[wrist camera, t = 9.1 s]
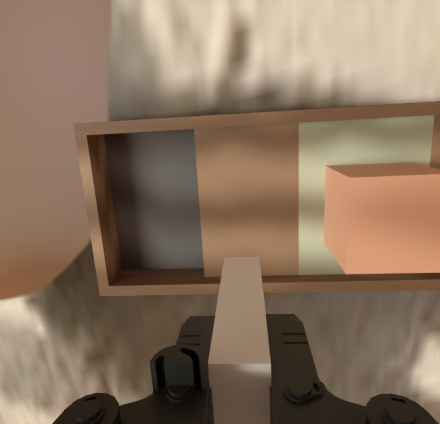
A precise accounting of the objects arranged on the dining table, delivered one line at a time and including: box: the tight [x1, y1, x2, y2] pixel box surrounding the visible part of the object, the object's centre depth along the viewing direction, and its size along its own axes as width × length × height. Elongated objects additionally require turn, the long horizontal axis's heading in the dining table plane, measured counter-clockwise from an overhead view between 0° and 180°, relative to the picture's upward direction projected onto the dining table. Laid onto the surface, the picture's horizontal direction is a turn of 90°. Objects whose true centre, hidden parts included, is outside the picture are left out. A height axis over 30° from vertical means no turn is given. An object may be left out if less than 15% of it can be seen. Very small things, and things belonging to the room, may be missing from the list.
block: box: [324, 162, 440, 274], centre depth 27 cm, size 7×7×7 cm
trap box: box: [73, 101, 440, 296], centre depth 31 cm, size 16×42×4 cm, turn 93°
